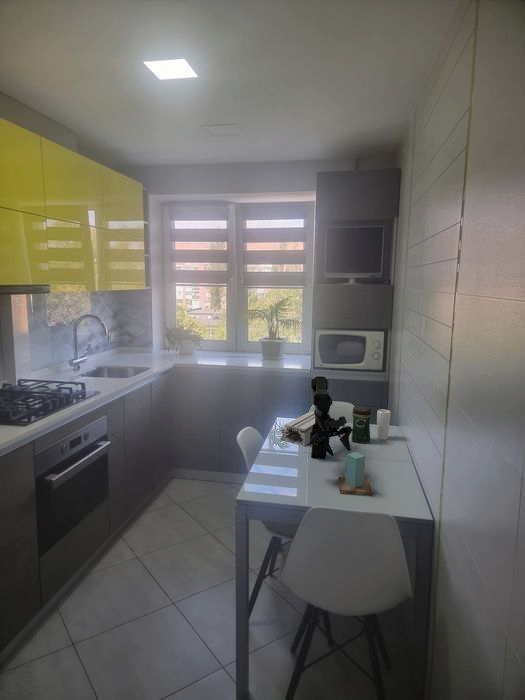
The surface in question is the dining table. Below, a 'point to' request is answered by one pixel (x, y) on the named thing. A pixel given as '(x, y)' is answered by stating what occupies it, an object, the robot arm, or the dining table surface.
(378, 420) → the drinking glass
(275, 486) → the dining table surface
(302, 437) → the aluminum extrusion profile
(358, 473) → the teal block
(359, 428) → the coffee jar
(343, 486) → the walnut board
